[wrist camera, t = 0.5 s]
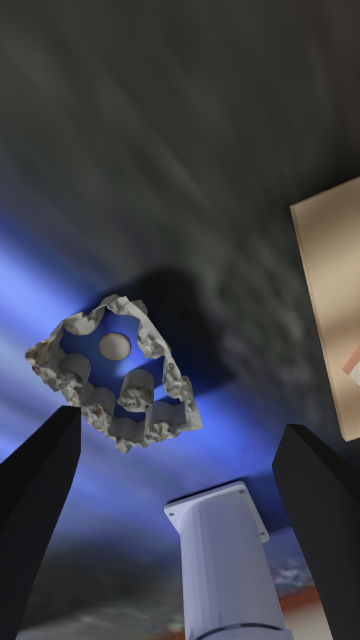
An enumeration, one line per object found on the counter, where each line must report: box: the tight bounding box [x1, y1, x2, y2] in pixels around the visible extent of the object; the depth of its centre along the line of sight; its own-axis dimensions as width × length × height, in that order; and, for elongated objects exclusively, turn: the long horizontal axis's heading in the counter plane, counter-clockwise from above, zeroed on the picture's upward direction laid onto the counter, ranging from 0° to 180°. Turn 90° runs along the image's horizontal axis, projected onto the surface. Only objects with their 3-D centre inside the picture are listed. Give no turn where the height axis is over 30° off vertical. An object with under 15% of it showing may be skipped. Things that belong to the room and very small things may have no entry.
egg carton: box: [25, 294, 202, 454], centre depth 18 cm, size 11×8×4 cm
